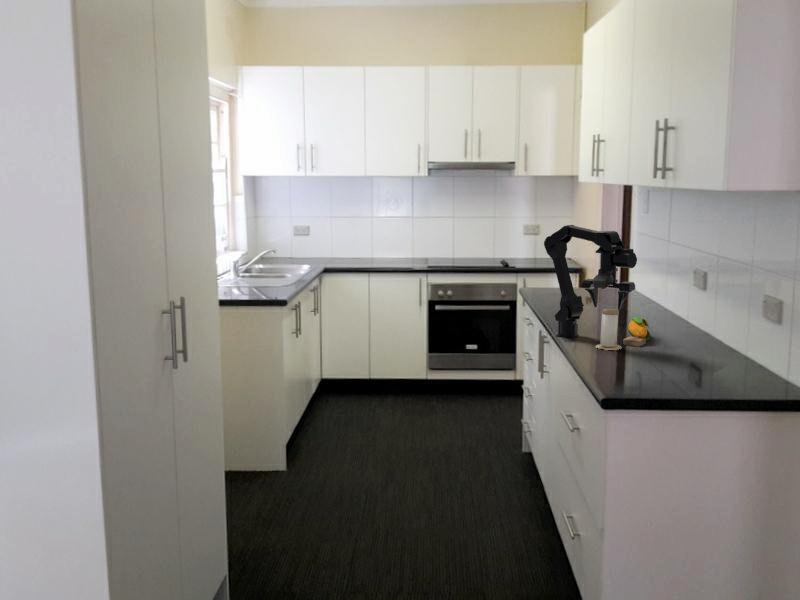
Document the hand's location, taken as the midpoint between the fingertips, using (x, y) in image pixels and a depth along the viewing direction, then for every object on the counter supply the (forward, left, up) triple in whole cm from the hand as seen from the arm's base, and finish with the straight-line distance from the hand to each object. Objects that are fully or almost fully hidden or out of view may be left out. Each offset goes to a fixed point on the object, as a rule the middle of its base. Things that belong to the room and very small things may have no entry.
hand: (607, 308), depth 303 cm
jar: (+4, -7, -12) cm, 15 cm away
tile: (+9, +4, -13) cm, 16 cm away
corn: (+7, +14, -13) cm, 20 cm away
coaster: (+4, -7, -13) cm, 15 cm away
